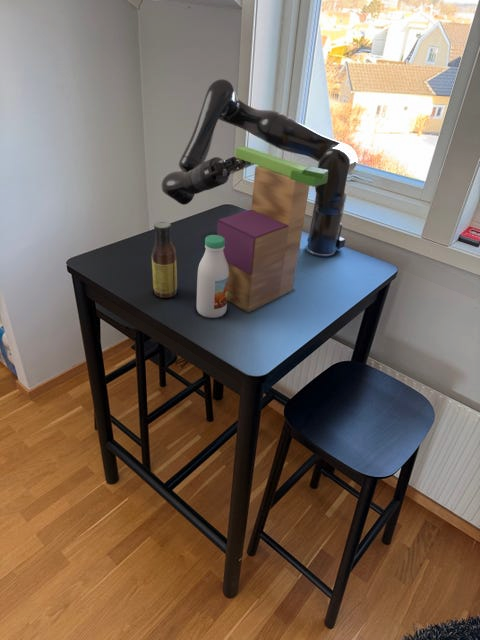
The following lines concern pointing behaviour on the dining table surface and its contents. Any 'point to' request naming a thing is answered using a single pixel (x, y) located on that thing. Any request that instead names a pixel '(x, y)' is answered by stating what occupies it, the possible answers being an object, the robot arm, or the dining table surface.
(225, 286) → the milk bottle
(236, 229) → the towel
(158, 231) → the sauce bottle
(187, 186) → the robot arm
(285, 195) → the oak stand
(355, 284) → the dining table surface
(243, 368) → the dining table surface
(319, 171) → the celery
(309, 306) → the dining table surface
